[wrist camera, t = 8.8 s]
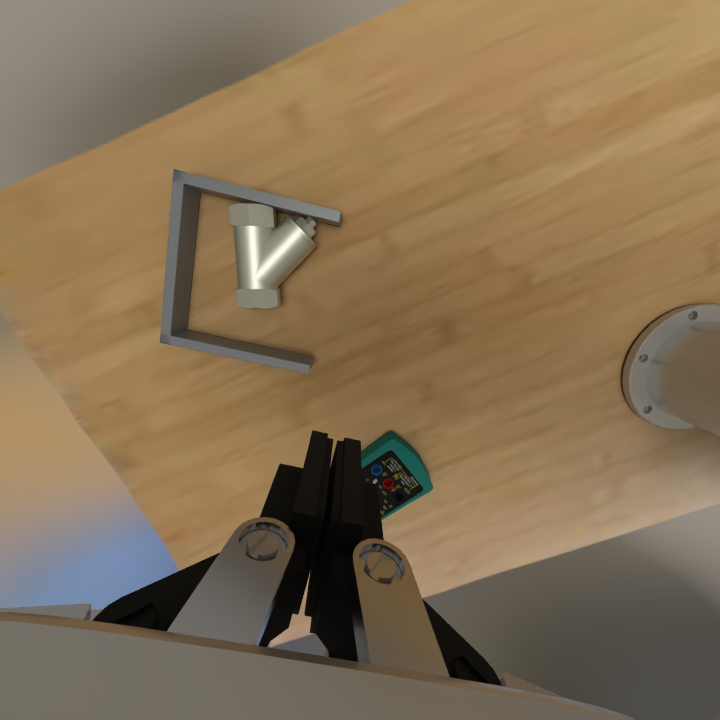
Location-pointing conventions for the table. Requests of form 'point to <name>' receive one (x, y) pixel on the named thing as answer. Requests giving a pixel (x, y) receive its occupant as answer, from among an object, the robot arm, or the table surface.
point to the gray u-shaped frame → (182, 263)
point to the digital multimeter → (394, 472)
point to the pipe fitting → (266, 252)
